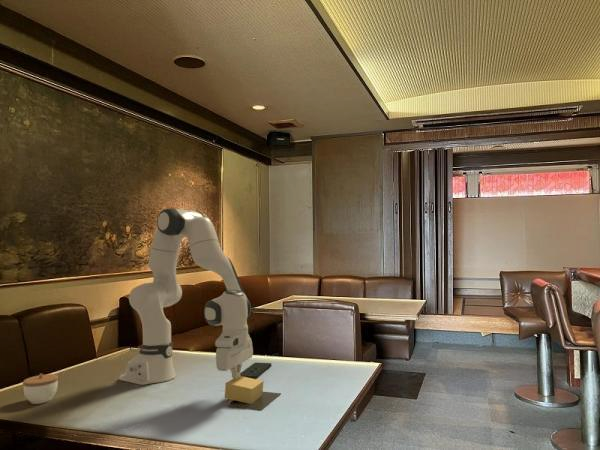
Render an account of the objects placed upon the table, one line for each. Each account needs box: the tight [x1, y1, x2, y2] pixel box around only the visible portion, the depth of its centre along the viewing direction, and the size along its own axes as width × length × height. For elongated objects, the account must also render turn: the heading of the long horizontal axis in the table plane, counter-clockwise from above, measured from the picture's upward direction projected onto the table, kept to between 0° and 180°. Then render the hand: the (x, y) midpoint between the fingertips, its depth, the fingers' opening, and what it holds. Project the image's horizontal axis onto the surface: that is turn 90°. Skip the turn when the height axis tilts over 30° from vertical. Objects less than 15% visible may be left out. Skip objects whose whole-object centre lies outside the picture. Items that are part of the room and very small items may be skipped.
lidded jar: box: [22, 373, 59, 405], centre depth 155 cm, size 11×11×9 cm
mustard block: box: [224, 376, 264, 404], centre depth 152 cm, size 5×9×10 cm
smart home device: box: [240, 362, 272, 380], centre depth 185 cm, size 8×2×20 cm
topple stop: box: [226, 391, 282, 411], centre depth 150 cm, size 13×16×1 cm
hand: (236, 377), depth 153 cm, fingers closed
